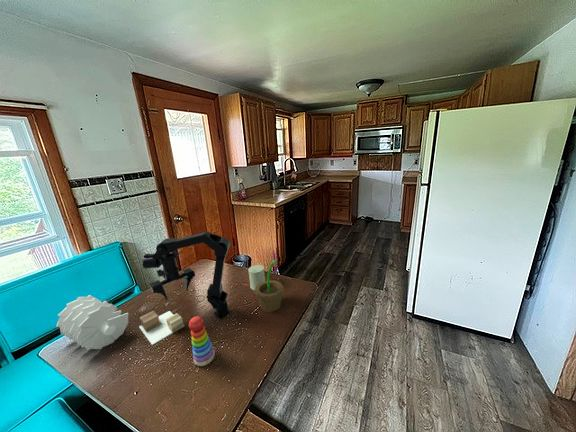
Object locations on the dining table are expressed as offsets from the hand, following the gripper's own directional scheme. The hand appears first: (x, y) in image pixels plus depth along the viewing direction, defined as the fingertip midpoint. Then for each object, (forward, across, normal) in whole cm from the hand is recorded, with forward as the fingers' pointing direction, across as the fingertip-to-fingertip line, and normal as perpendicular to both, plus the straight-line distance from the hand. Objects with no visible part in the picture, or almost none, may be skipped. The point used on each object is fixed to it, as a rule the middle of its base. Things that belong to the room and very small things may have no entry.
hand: (176, 295), depth 110 cm
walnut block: (+12, +12, -5) cm, 18 cm away
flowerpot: (+13, -34, +27) cm, 46 cm away
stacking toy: (+13, +4, +31) cm, 34 cm away
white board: (+12, +9, -1) cm, 15 cm away
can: (+13, -42, +8) cm, 44 cm away
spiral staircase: (+13, +31, -17) cm, 37 cm away
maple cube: (+12, +5, +5) cm, 14 cm away
